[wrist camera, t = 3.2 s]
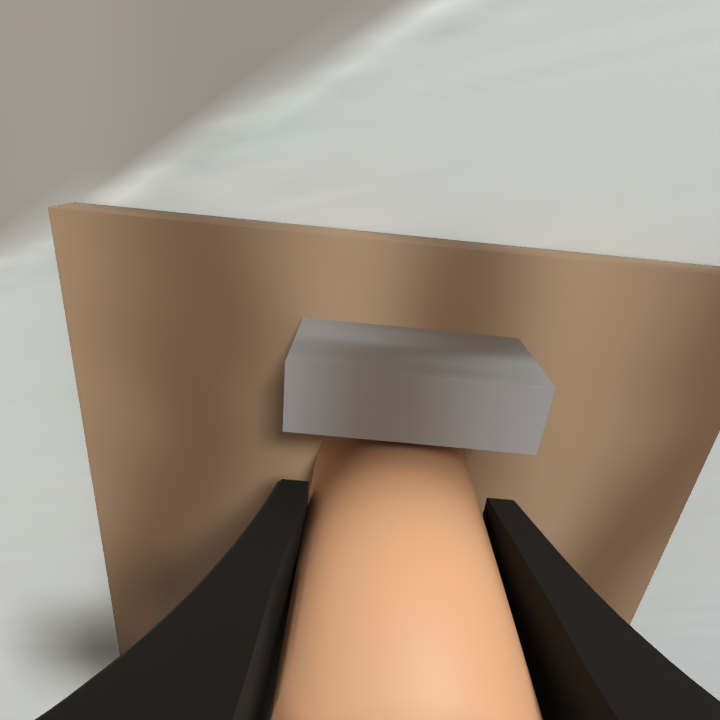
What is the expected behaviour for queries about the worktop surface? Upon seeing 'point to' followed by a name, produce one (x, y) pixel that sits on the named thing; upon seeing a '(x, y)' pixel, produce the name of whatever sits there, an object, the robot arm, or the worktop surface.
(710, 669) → the worktop surface
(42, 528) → the worktop surface
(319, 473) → the peg
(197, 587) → the robot arm
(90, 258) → the dock board
